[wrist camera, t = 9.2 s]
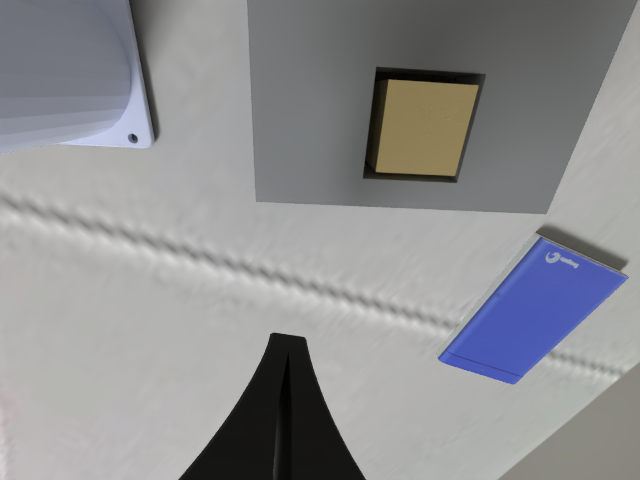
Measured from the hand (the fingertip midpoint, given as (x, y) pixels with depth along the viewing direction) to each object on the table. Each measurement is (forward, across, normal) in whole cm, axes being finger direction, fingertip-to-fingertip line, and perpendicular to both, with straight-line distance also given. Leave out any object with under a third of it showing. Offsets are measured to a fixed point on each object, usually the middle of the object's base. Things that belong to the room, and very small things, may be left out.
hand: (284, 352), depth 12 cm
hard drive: (+10, -19, +2) cm, 22 cm away
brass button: (+9, -5, -9) cm, 13 cm away
